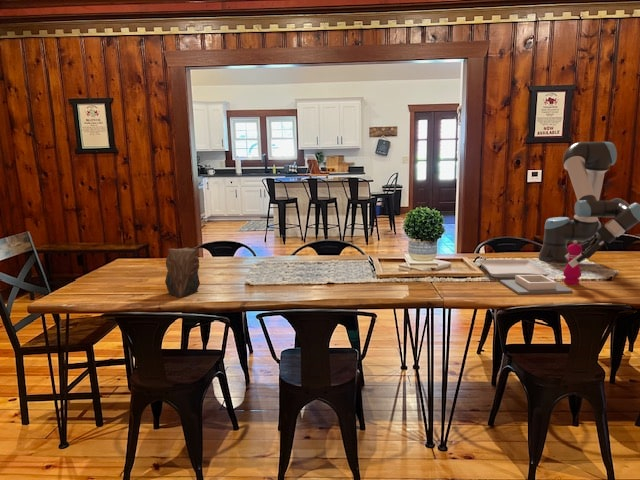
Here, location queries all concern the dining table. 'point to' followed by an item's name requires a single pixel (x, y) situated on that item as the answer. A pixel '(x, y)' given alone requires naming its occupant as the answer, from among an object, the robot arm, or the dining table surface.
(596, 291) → the dining table surface
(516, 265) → the square plate
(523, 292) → the caddy
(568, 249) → the pepper mill
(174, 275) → the owl
